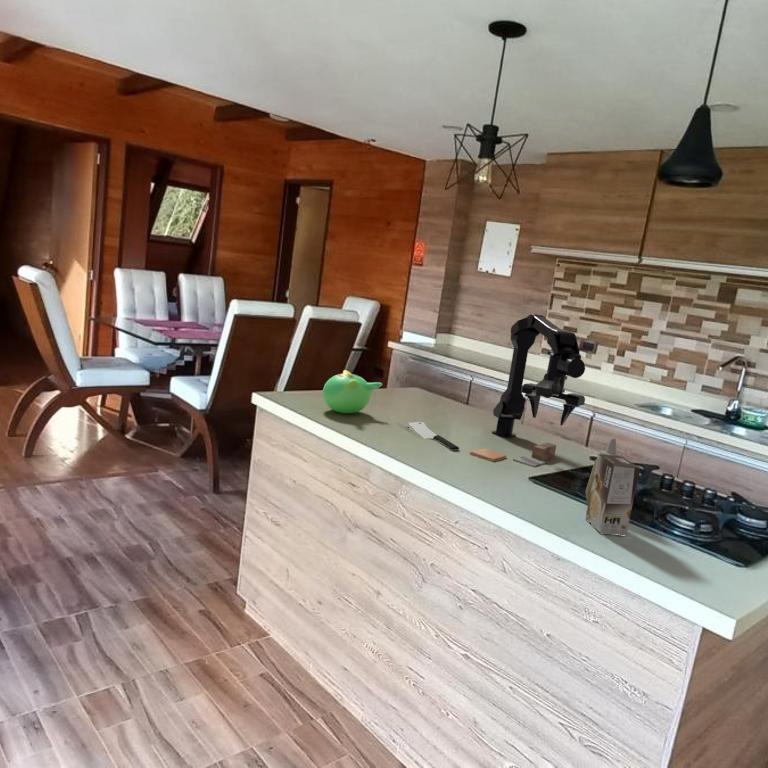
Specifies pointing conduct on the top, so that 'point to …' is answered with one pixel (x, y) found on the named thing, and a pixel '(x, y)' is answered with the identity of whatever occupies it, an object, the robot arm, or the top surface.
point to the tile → (488, 454)
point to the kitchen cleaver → (432, 435)
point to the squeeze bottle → (609, 451)
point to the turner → (538, 455)
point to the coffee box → (612, 494)
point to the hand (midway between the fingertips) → (547, 421)
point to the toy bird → (348, 392)
